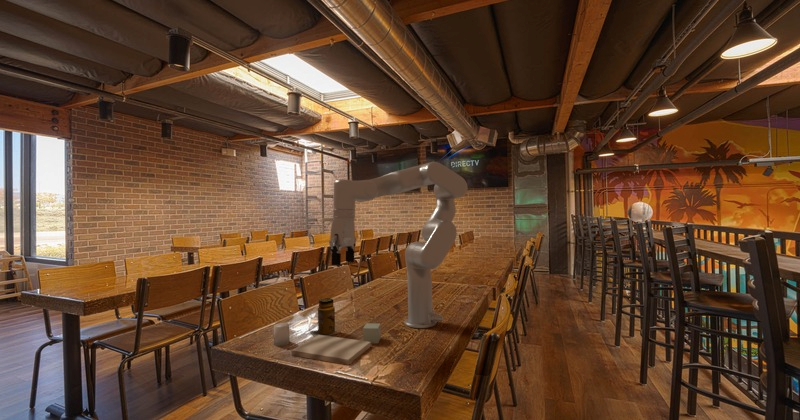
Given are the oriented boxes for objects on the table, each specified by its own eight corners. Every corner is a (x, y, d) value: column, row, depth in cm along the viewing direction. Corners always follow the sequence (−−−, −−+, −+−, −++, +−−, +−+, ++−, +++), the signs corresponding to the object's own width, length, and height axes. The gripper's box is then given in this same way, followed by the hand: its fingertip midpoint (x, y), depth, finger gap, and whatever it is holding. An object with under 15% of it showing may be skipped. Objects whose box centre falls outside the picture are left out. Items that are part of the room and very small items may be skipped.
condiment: (339, 333, 121) (338, 300, 121) (316, 338, 116) (315, 303, 116) (331, 327, 127) (330, 296, 127) (309, 332, 122) (309, 299, 122)
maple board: (370, 346, 108) (370, 341, 108) (348, 364, 95) (348, 359, 95) (318, 339, 115) (318, 334, 115) (291, 355, 102) (291, 350, 102)
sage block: (380, 338, 115) (380, 323, 115) (378, 343, 110) (377, 328, 110) (366, 337, 116) (366, 323, 116) (363, 343, 111) (363, 328, 111)
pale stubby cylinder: (292, 341, 114) (292, 323, 114) (282, 346, 109) (282, 328, 109) (281, 339, 116) (280, 322, 116) (270, 344, 111) (270, 326, 111)
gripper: (346, 215, 127) (345, 260, 127) (321, 214, 111) (320, 265, 110) (364, 215, 125) (363, 261, 124) (341, 214, 108) (340, 267, 108)
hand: (343, 263), depth 117 cm, fingers open, 9 cm apart
